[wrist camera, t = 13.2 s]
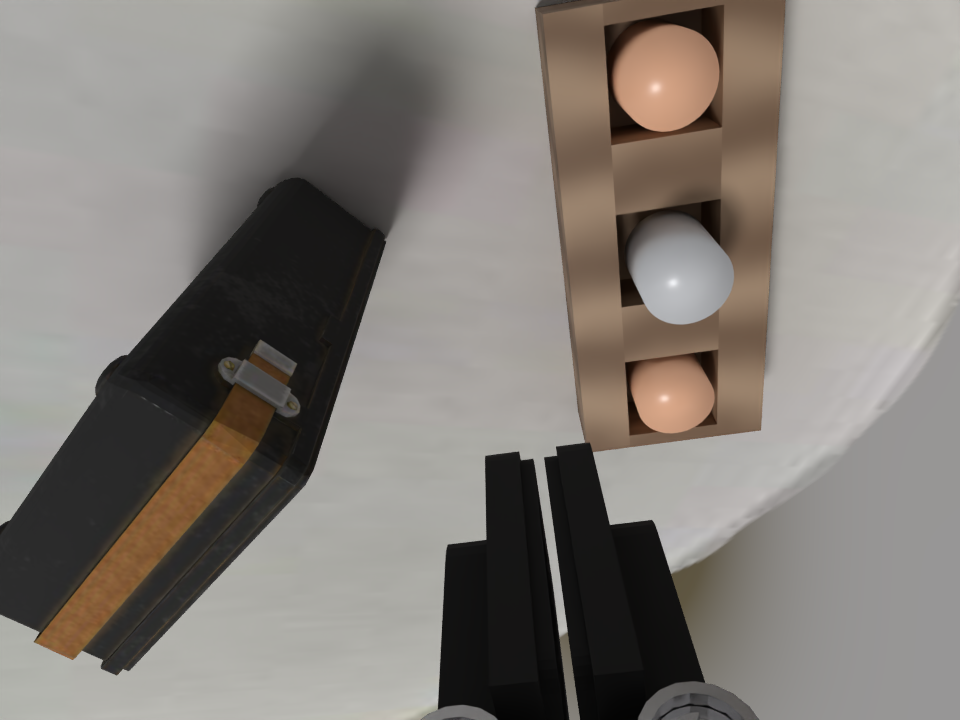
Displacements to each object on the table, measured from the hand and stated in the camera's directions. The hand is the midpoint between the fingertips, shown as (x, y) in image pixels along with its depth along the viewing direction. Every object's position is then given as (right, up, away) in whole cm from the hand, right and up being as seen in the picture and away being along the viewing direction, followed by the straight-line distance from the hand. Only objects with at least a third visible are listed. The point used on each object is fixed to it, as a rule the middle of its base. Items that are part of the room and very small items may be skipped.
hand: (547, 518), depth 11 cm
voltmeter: (-14, +8, +36) cm, 40 cm away
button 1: (+12, +2, +38) cm, 40 cm away
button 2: (+9, +19, +28) cm, 35 cm away
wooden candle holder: (+10, +11, +34) cm, 37 cm away
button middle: (+10, +9, +31) cm, 34 cm away
